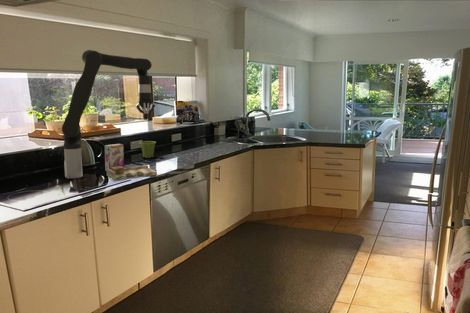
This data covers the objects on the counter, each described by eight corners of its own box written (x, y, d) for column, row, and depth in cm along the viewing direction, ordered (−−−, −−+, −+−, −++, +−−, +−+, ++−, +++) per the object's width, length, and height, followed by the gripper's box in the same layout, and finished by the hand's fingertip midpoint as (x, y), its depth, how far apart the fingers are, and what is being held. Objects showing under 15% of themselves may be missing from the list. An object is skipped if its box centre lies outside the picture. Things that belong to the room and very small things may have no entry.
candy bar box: (109, 172, 250) (108, 146, 247) (105, 171, 254) (103, 145, 250) (124, 169, 259) (123, 144, 256) (120, 168, 262) (119, 143, 259)
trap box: (114, 180, 230) (114, 172, 229) (106, 175, 241) (106, 168, 241) (156, 174, 245) (156, 167, 244) (147, 170, 256) (147, 163, 255)
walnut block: (114, 174, 236) (114, 168, 235) (111, 172, 240) (110, 166, 240) (124, 173, 239) (124, 167, 238) (120, 171, 244) (120, 165, 243)
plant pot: (139, 156, 304) (138, 141, 302) (155, 155, 307) (154, 140, 305) (140, 159, 293) (140, 143, 291) (157, 158, 296) (156, 143, 294)
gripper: (136, 92, 243) (137, 120, 246) (157, 91, 250) (158, 119, 253) (132, 91, 249) (133, 119, 252) (152, 91, 256) (153, 118, 259)
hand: (145, 119), depth 253 cm, fingers closed
